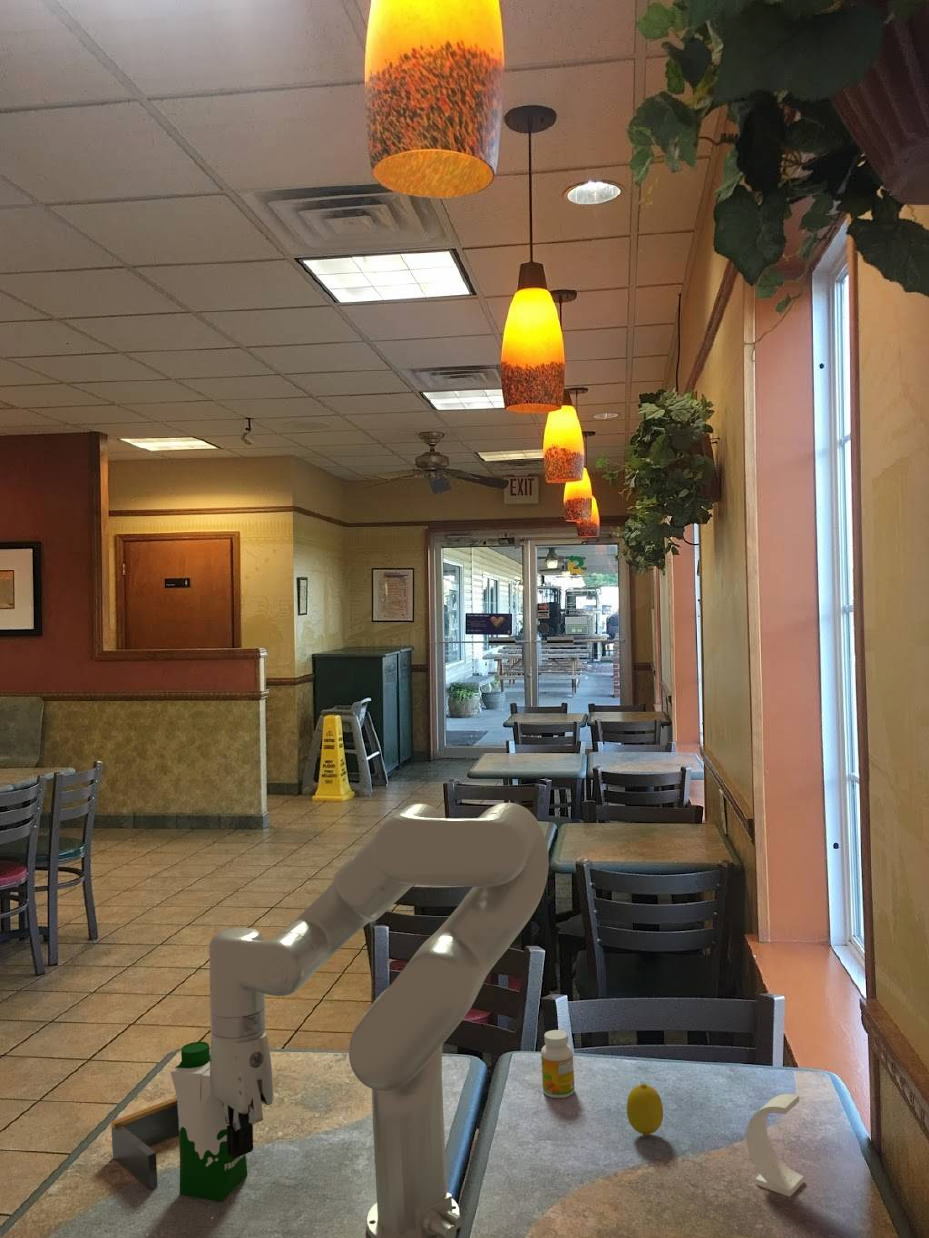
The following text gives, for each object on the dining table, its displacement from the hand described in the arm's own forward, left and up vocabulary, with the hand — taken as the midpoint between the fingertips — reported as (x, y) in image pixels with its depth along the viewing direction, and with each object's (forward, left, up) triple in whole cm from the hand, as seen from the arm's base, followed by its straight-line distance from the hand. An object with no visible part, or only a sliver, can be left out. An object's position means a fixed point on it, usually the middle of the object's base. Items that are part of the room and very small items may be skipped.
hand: (240, 1152), depth 138 cm
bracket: (+21, -1, -8) cm, 23 cm away
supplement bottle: (-9, -56, -9) cm, 57 cm away
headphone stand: (-50, -56, -9) cm, 75 cm away
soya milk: (+9, -1, -9) cm, 13 cm away
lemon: (-29, -54, -9) cm, 61 cm away
